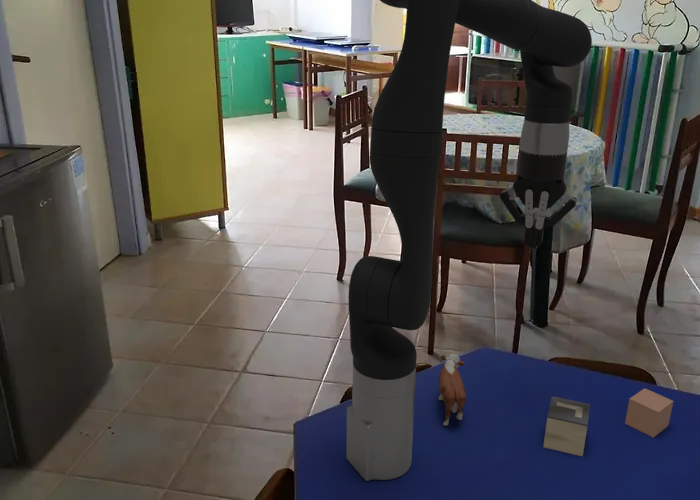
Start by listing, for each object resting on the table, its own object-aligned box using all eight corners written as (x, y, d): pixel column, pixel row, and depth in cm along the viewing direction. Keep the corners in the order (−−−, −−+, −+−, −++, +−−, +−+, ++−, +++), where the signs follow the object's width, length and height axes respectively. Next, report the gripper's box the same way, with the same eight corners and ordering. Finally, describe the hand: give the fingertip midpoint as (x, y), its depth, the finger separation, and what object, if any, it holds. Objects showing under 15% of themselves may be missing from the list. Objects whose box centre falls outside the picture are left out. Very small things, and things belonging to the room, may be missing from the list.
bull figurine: (460, 388, 123) (463, 349, 121) (465, 432, 111) (468, 390, 108) (436, 386, 124) (439, 347, 121) (438, 431, 111) (441, 388, 108)
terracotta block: (653, 438, 110) (658, 412, 108) (624, 423, 114) (629, 398, 112) (668, 426, 113) (673, 401, 111) (639, 412, 117) (644, 388, 115)
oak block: (590, 404, 109) (585, 435, 111) (551, 395, 111) (547, 426, 113) (587, 424, 103) (582, 456, 106) (547, 415, 105) (543, 447, 108)
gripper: (588, 147, 110) (575, 245, 116) (507, 139, 115) (498, 235, 121) (583, 156, 104) (570, 260, 110) (498, 148, 109) (489, 249, 115)
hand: (532, 247), depth 116 cm, fingers closed
